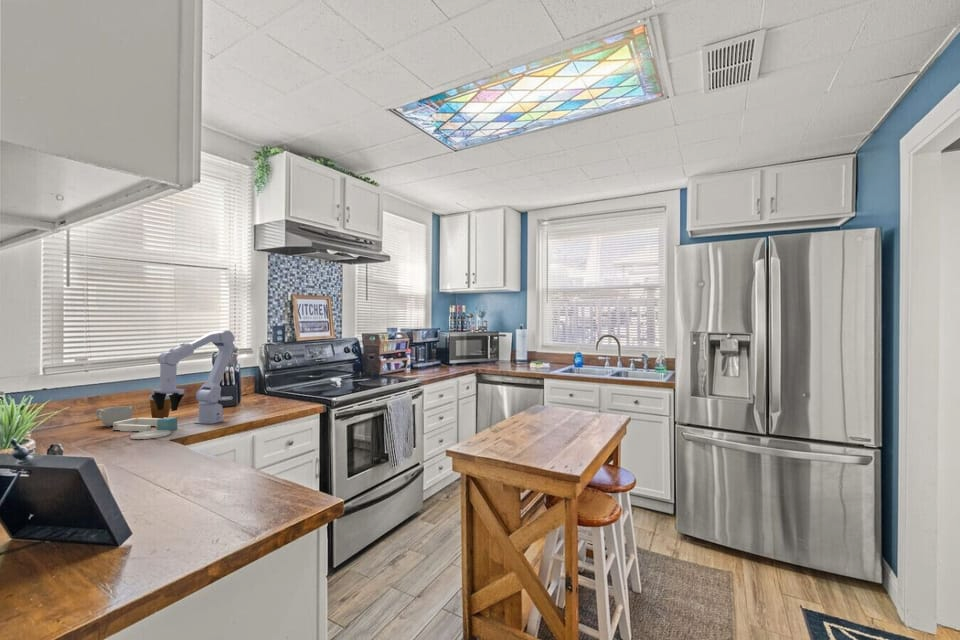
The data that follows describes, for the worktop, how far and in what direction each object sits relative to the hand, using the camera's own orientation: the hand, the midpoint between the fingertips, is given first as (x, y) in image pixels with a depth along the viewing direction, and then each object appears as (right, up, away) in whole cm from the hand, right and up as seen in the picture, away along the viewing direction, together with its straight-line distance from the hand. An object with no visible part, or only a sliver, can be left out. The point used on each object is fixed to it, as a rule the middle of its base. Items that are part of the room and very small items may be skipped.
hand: (167, 410), depth 184 cm
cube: (0, -9, 0) cm, 9 cm away
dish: (+2, -8, -12) cm, 14 cm away
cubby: (-13, -8, +2) cm, 15 cm away
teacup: (-30, -9, +8) cm, 33 cm away
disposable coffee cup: (-20, -9, +22) cm, 31 cm away
